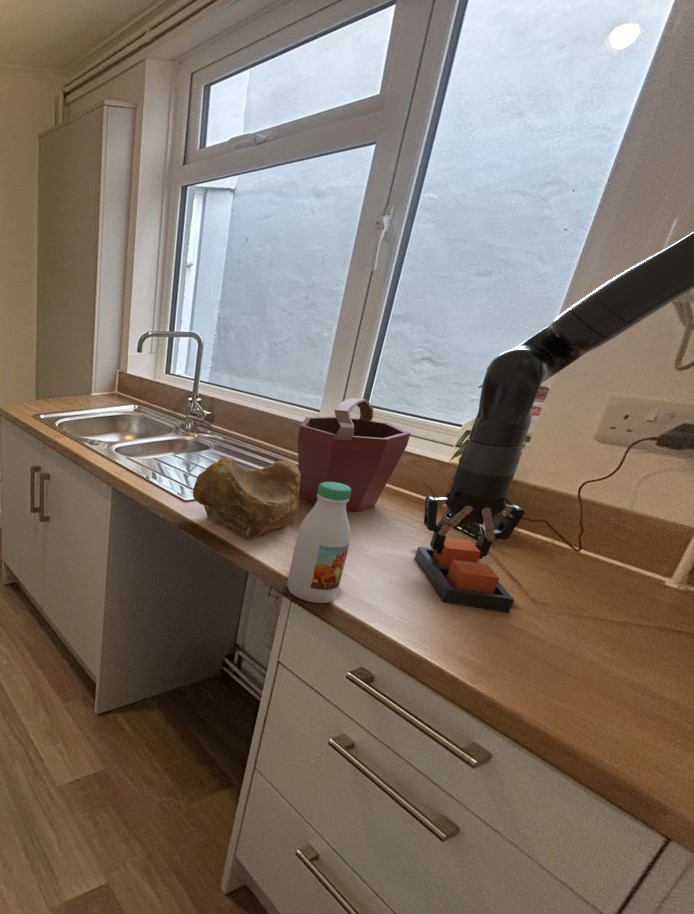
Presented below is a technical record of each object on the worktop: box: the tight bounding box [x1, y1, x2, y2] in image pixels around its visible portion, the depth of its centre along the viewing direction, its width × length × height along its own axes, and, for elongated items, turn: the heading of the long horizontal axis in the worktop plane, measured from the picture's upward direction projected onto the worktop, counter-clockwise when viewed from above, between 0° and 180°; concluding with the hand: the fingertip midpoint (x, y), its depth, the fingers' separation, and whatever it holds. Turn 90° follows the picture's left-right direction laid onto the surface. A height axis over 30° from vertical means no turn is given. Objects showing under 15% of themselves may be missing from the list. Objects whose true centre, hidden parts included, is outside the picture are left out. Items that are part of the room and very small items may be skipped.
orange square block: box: [446, 560, 500, 594], centre depth 90 cm, size 5×5×4 cm
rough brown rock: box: [192, 456, 301, 540], centre depth 114 cm, size 23×17×15 cm
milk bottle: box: [286, 482, 352, 604], centre depth 88 cm, size 8×8×20 cm
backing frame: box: [414, 546, 515, 613], centre depth 94 cm, size 9×17×2 cm, turn 159°
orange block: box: [432, 537, 481, 568], centre depth 97 cm, size 5×5×4 cm
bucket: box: [297, 397, 411, 513], centre depth 129 cm, size 24×22×25 cm
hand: (456, 554), depth 97 cm, fingers open, 5 cm apart
